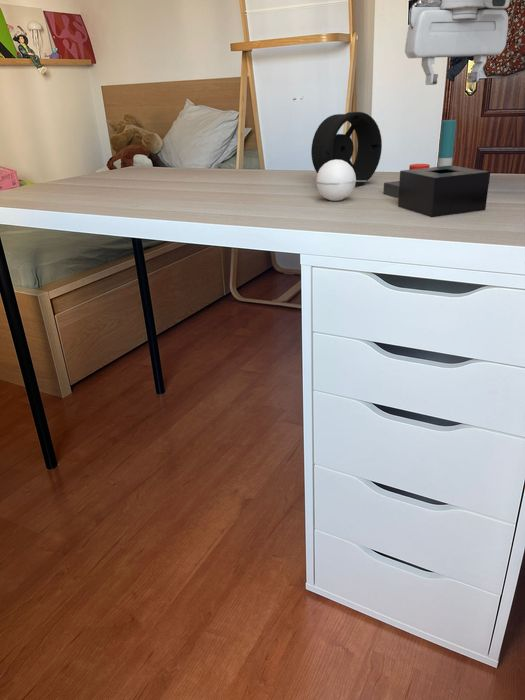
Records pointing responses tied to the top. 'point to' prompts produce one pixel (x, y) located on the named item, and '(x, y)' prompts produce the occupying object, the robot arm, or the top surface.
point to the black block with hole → (443, 190)
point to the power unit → (391, 189)
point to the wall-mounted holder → (348, 144)
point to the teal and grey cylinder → (446, 142)
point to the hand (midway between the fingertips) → (452, 83)
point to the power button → (418, 166)
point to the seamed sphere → (336, 180)
